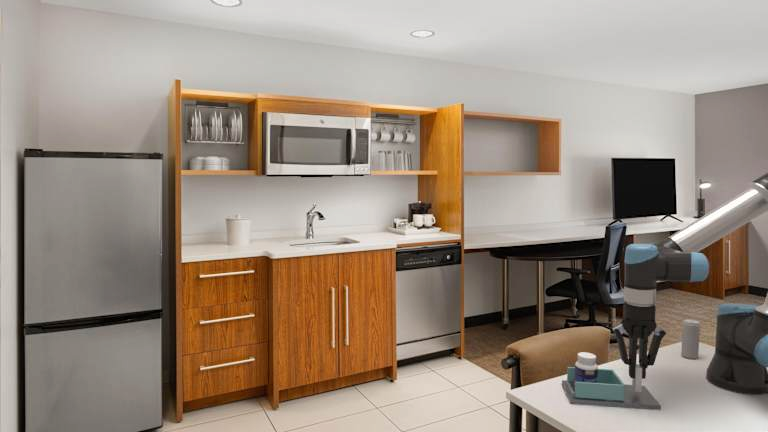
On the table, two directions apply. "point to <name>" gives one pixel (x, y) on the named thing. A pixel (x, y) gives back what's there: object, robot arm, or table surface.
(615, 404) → the plate
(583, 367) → the pill bottle
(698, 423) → the table surface
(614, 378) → the housing
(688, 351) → the beverage can
